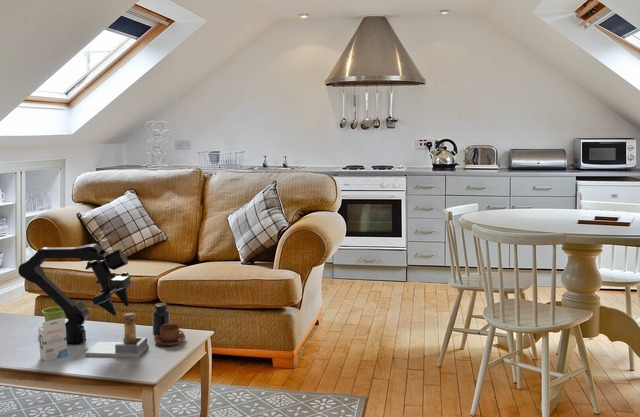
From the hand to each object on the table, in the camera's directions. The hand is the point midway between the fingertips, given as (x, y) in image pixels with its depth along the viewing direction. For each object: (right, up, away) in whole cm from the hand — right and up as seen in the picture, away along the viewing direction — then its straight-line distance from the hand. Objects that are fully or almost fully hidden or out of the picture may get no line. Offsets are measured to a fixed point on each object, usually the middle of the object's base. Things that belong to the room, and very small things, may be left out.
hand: (121, 310), depth 266 cm
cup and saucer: (+18, -13, +2) cm, 23 cm away
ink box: (-21, -15, -14) cm, 29 cm away
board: (+1, -14, -8) cm, 16 cm away
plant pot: (-32, -11, +16) cm, 38 cm away
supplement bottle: (+13, -11, +13) cm, 21 cm away
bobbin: (+6, -13, -9) cm, 17 cm away
